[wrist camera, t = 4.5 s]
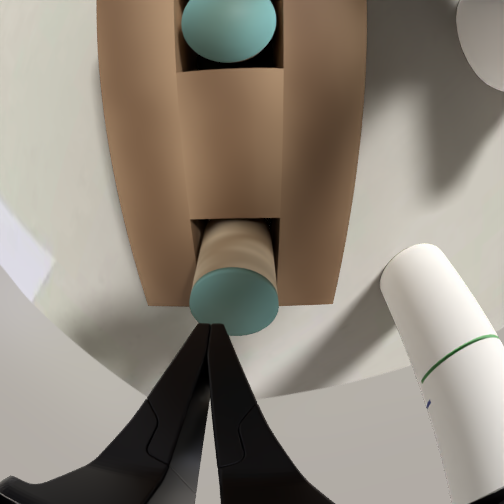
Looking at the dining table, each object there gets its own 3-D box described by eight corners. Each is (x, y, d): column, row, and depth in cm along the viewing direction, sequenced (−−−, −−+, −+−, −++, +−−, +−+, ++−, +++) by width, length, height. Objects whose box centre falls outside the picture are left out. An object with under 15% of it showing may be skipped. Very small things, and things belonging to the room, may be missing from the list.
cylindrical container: (382, 310, 28) (449, 554, 8) (376, 257, 25) (477, 564, 4) (442, 288, 27) (532, 509, 7) (446, 234, 23) (580, 493, 3)
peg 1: (267, 4, 13) (275, -19, 9) (268, 62, 16) (276, 62, 11) (200, 6, 13) (180, -14, 9) (201, 64, 16) (182, 65, 11)
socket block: (332, -17, 12) (364, -42, 8) (316, 250, 24) (332, 303, 19) (138, -9, 12) (97, -29, 8) (166, 252, 24) (148, 305, 19)
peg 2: (271, 207, 17) (280, 272, 12) (270, 264, 19) (276, 335, 15) (200, 209, 17) (183, 273, 12) (207, 265, 19) (195, 335, 15)
